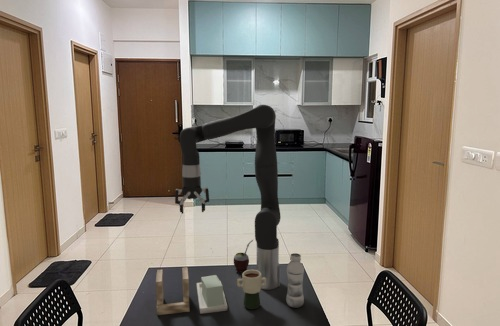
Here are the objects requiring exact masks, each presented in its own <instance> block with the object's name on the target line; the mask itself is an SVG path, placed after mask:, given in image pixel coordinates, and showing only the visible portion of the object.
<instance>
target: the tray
mask: <svg viewBox="0 0 500 326" xmlns="http://www.w3.org/2000/svg"><path fill="white" fill-rule="evenodd" d="M219 281H220V282H221V280H219ZM221 283H222V282H221ZM196 292H197V300H198V308H199V313H200V314H209V313H211V314H212V313H219V312H226V311H228V303H227V300H226V295H225V292H224V291H223V305H217V306H210V307H207V305H206V303H205V300H204V298H203V296H202V282H201V281H200V282H196Z"/></svg>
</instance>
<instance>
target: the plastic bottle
mask: <svg viewBox="0 0 500 326" xmlns="http://www.w3.org/2000/svg"><path fill="white" fill-rule="evenodd" d="M301 257H302V255H301V254H300V253H295V252H294V253H291V254H290V257H289V260H290V261H289V263H288V264H286V277H287V292H286V297H285V300H286V304H287V305H288V306H289V307H291V308H294V309H296V308H297V309H298V308H301V307H302V306H303V305H304V303H305V298H304V290H303V289H304V288H303V281H304V280H303V279H304V274H305V268H304V265H303V263H302V262H301V261H302V258H301Z"/></svg>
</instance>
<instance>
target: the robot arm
mask: <svg viewBox="0 0 500 326" xmlns="http://www.w3.org/2000/svg"><path fill="white" fill-rule="evenodd" d="M276 117H277V115H276V111H275V110H274V108H273V107H272V106H270V105H268V104H259V105H257V106H255V107H254V108H252V109H249V110H247V111H245V112H243V113H240V114H237V115H234V116H229V117H224V118H219V119H215V120H212V121H208V122H205V123H203V124H200V125H194V126H191V127H185V128H183V129H182V130H181V131H180V132H179V133H180V134H179V144H180V150H181V155H182V170H181V172H182V174H181V175H182V189H179V188H175V190H174V191H175V192H174V193H175V195H174V196H175V197H174V204H176V205H179V212H180V213H181V214H184V203H185V202H186V200H187V199H188V200H192V199H193V200H196V199H198V200H199V201H200V202H201V213H204V212H205V211H206V203H209V202H210V194H209V192H210V191H209V188H208V187H204V188H202V186H201V185H202V182H201V181H202V180H201V179H202V178H201V174H202V173H201V163H200V161H201V160H200V152H199V150H198V149H197V144H198V143H201V142H204V141H207V140H215V139H218V138H221V137H224V136H228V135H231V134H233V133H237V132H239V131H240V132H241V131H246V130H249V129H250V130H251V129H255V132H256V146H255V155H254V175H255V180H256V184H257V186H258V187H257V188H258V189H259V192H260V193H259V194H260V210H259V212H257V213H256V215H255V218H254V239H255V242H256V270H257V271H259V272H260V273H261V278H266V286H261V290H266V291H267V290H274V289H277V288H278V287H281V264H280V263H279V262H280V261H279V259H280V258H279V257H280V256H279V255H280V254H279V253H280V252H279V249H280V248H279V245H280V242H279V239H278V232H277V231H278V228H277V227H278V225H279V224H280V222H281V210H280V204H279V197H278V195H279V193H278V192H279V191H278V188H279V187H278V186H279V184H278V183H279V181H278V178H279V177H278V172H279V171H278V155H277V148H276V140H275V139H276V138H275V136H276V135H275V133H276V132H275V131H276V130H275V129H276V128H275V127H276ZM202 192H203V193H204V194H205V199H204V198H203V197H202V196H201V194H202ZM181 193H182V194H183V196H182V197H181V199H180V200H179V195H181ZM261 284H264V280H261Z"/></svg>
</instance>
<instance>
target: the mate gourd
mask: <svg viewBox="0 0 500 326" xmlns="http://www.w3.org/2000/svg"><path fill="white" fill-rule="evenodd" d="M252 242H254V239H251V240H250V241H249V242H248V244H247V245H246V248H245V251H244V252H237V253H236V254H235V255H234V257H233V266H234V268H235V271H236V274H240V273H243V272H244V271H247V270H248V266H249V263H250V259H249V255H248V254H247V250H248V248H249V247H250V244H251V243H252Z"/></svg>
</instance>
